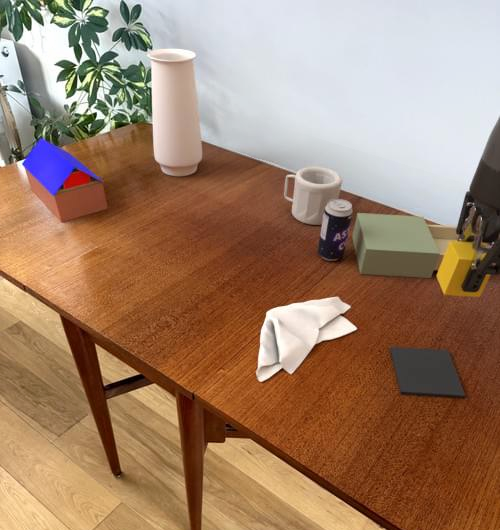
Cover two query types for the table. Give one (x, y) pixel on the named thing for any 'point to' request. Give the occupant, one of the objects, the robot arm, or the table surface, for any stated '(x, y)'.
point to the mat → (426, 372)
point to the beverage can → (335, 229)
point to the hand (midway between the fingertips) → (463, 278)
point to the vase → (175, 112)
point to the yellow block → (458, 269)
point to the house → (63, 182)
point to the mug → (313, 193)
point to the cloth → (298, 333)
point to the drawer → (443, 239)
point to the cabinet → (394, 245)
